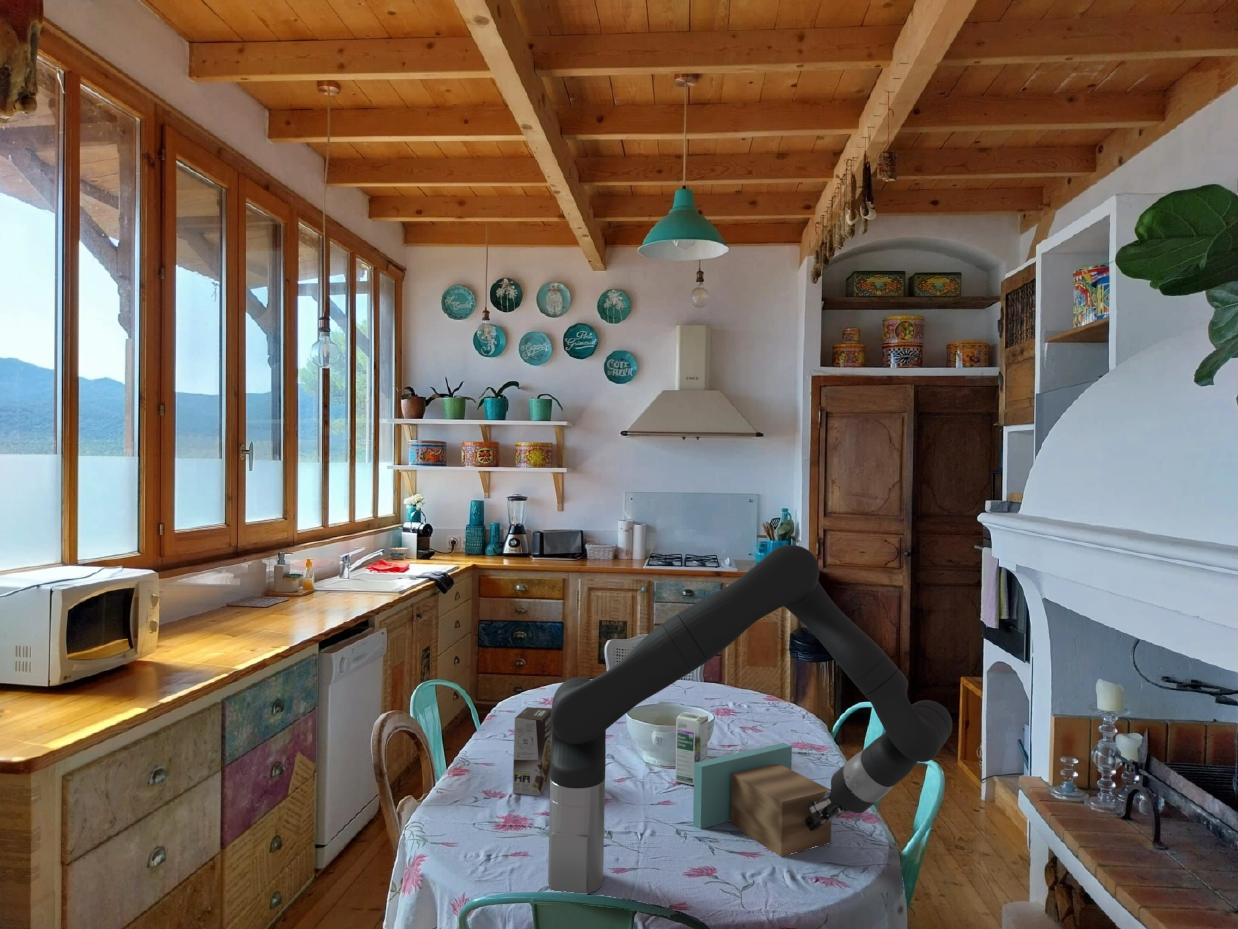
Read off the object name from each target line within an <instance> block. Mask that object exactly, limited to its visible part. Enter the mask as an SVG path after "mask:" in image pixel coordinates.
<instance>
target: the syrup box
mask: <svg viewBox="0 0 1238 929" xmlns="http://www.w3.org/2000/svg"><path fill="white" fill-rule="evenodd" d="M675 722H676V725H675V726H676V727H675V772H674V773H675V775H674V776H675V777H674V781H676V782H675V783H681V784H686V785H690V786H693V785H694V763H696V762H700V761H705V760H708V741H709V740H708V736H709V734H708V733H709V714H708V715H707V714H699V713H695V712H694V713H693V712H689V711H685V712H682V713H680V714H679V715H678V716H677V717H676V720H675Z"/></svg>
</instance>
